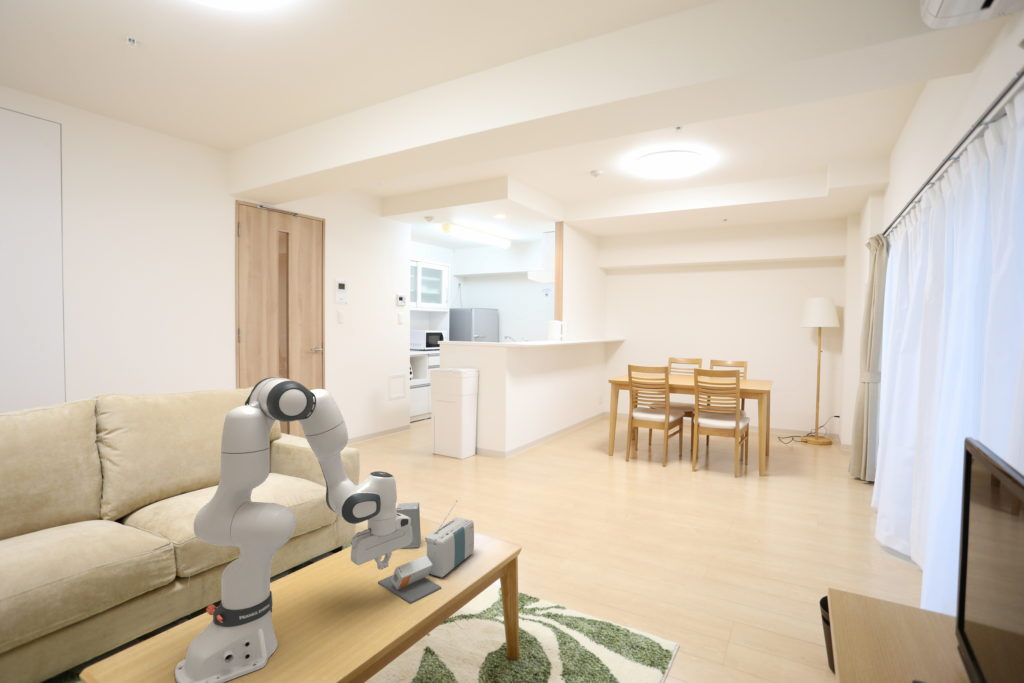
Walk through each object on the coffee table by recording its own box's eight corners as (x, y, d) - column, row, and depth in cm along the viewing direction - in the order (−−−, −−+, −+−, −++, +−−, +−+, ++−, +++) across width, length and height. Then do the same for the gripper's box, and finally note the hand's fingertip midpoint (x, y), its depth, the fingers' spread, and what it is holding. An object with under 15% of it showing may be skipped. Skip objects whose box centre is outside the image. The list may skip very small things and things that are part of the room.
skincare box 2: (401, 578, 154) (433, 564, 163) (395, 567, 157) (426, 554, 165) (396, 590, 157) (428, 576, 165) (390, 580, 159) (421, 566, 168)
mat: (410, 603, 150) (410, 602, 150) (377, 583, 162) (377, 581, 162) (441, 588, 159) (441, 586, 159) (407, 570, 171) (407, 568, 171)
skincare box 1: (420, 541, 195) (420, 501, 194) (418, 549, 188) (418, 508, 187) (399, 541, 194) (399, 501, 194) (396, 549, 187) (395, 508, 187)
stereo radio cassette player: (443, 580, 164) (443, 521, 164) (423, 575, 168) (423, 517, 167) (475, 554, 183) (475, 501, 183) (456, 550, 187) (456, 498, 186)
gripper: (357, 537, 143) (358, 584, 144) (415, 517, 158) (415, 559, 159) (346, 531, 147) (346, 577, 148) (403, 512, 162) (403, 553, 163)
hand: (382, 567), depth 153 cm, fingers closed
